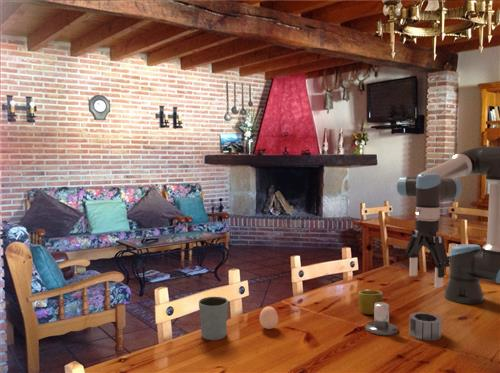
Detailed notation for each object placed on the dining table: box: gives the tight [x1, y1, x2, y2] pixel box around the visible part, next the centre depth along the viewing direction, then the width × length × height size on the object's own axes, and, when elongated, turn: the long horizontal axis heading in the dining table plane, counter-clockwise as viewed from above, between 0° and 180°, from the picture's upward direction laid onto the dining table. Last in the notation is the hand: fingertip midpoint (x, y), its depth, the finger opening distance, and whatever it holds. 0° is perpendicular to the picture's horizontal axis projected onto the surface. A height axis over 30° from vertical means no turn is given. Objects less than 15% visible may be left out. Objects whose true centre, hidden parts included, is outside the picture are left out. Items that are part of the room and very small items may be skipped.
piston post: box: [365, 302, 399, 337], centre depth 159 cm, size 11×11×9 cm
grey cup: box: [198, 296, 229, 341], centre depth 155 cm, size 10×10×12 cm
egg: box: [259, 306, 279, 330], centre depth 160 cm, size 7×7×8 cm
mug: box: [357, 288, 384, 316], centre depth 177 cm, size 12×10×10 cm
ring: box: [408, 311, 443, 342], centre depth 155 cm, size 10×10×6 cm
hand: (425, 281), depth 153 cm, fingers open, 13 cm apart
